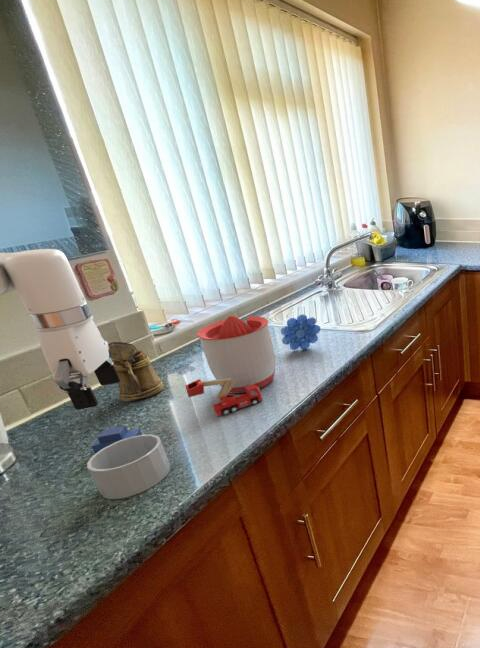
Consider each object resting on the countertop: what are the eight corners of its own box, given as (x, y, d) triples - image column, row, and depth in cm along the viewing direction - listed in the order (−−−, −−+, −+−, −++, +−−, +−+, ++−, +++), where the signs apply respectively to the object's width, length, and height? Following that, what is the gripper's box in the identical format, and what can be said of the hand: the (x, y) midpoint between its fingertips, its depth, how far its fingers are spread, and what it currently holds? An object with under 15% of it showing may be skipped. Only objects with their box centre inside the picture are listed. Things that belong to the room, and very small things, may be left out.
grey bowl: (89, 506, 71) (74, 477, 69) (115, 469, 80) (103, 442, 78) (160, 489, 75) (148, 461, 73) (178, 455, 84) (168, 429, 81)
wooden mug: (114, 414, 98) (85, 347, 91) (123, 390, 108) (97, 329, 101) (161, 402, 103) (136, 338, 96) (165, 380, 113) (143, 321, 106)
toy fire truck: (264, 401, 102) (255, 367, 99) (198, 424, 93) (186, 388, 90) (260, 396, 105) (251, 363, 101) (196, 418, 96) (183, 383, 92)
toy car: (96, 457, 83) (88, 439, 82) (104, 447, 86) (96, 430, 85) (137, 448, 86) (130, 431, 84) (144, 439, 89) (137, 422, 87)
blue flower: (325, 341, 137) (318, 308, 132) (323, 349, 131) (316, 315, 126) (287, 346, 133) (279, 312, 129) (283, 355, 127) (275, 319, 123)
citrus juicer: (282, 362, 122) (266, 300, 115) (281, 389, 108) (264, 319, 101) (220, 374, 116) (200, 309, 108) (211, 404, 101) (187, 331, 94)
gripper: (62, 305, 81) (97, 379, 88) (3, 337, 66) (50, 423, 73) (109, 299, 84) (140, 371, 90) (63, 329, 69) (103, 412, 76)
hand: (100, 394), depth 82 cm, fingers open, 9 cm apart
